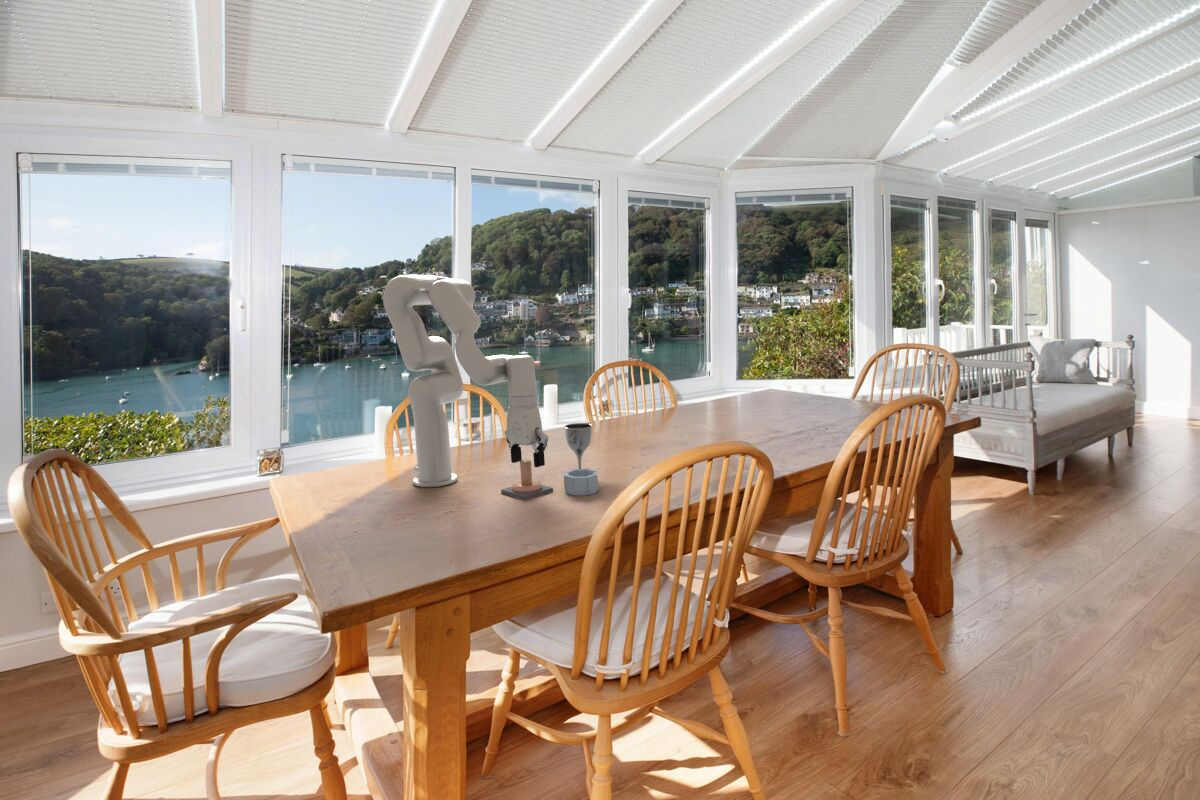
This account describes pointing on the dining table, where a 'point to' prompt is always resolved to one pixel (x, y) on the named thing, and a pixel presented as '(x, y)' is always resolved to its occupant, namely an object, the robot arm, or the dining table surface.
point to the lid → (526, 479)
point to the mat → (526, 495)
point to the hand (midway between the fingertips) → (528, 464)
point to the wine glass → (578, 438)
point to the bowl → (581, 482)
